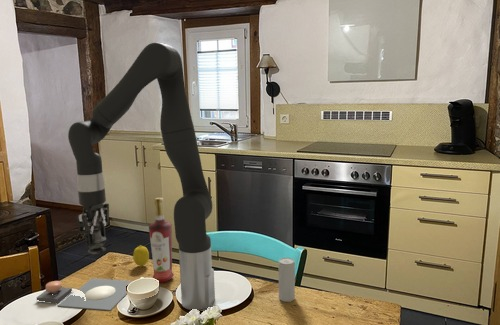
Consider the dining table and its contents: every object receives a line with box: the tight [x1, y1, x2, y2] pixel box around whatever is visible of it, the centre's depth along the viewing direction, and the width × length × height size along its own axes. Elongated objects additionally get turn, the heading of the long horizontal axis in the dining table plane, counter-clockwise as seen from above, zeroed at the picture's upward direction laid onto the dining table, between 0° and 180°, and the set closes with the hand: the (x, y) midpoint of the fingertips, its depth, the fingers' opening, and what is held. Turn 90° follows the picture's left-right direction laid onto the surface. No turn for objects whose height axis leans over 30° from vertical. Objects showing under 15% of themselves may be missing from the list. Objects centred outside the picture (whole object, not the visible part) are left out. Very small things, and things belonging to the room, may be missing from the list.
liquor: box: [148, 197, 175, 284], centre depth 131 cm, size 7×7×28 cm
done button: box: [45, 280, 63, 295], centre depth 122 cm, size 4×4×3 cm
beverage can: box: [277, 257, 296, 303], centre depth 118 cm, size 5×5×12 cm
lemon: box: [132, 245, 150, 268], centre depth 143 cm, size 6×6×8 cm
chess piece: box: [87, 217, 107, 255], centre depth 121 cm, size 6×6×12 cm
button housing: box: [36, 286, 73, 305], centre depth 123 cm, size 7×7×2 cm
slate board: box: [57, 278, 133, 312], centre depth 124 cm, size 17×18×1 cm
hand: (96, 241), depth 121 cm, fingers closed on chess piece, 6 cm apart
